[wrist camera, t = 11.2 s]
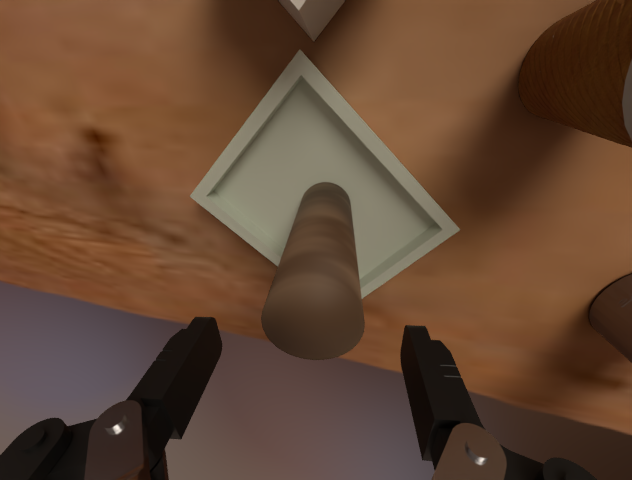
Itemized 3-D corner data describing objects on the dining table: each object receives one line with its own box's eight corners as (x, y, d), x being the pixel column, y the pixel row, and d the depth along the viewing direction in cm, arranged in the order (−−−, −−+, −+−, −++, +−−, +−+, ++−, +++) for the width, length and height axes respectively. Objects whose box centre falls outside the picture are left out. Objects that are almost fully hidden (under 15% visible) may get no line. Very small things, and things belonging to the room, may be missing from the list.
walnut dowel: (361, 206, 24) (386, 328, 11) (326, 237, 25) (314, 372, 13) (325, 171, 22) (309, 263, 10) (290, 206, 24) (241, 322, 12)
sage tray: (449, 217, 24) (460, 229, 22) (338, 298, 30) (338, 315, 28) (304, 54, 19) (299, 49, 17) (202, 187, 25) (189, 196, 23)
